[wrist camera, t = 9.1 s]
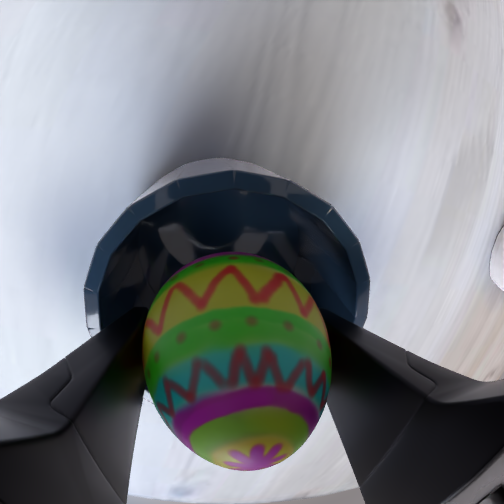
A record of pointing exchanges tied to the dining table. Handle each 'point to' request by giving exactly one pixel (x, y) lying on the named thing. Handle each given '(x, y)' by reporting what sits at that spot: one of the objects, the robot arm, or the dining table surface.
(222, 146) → the dining table surface
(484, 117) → the dining table surface
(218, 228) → the cup
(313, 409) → the egg
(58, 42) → the dining table surface
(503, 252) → the foam cup
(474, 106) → the dining table surface
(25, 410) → the robot arm
